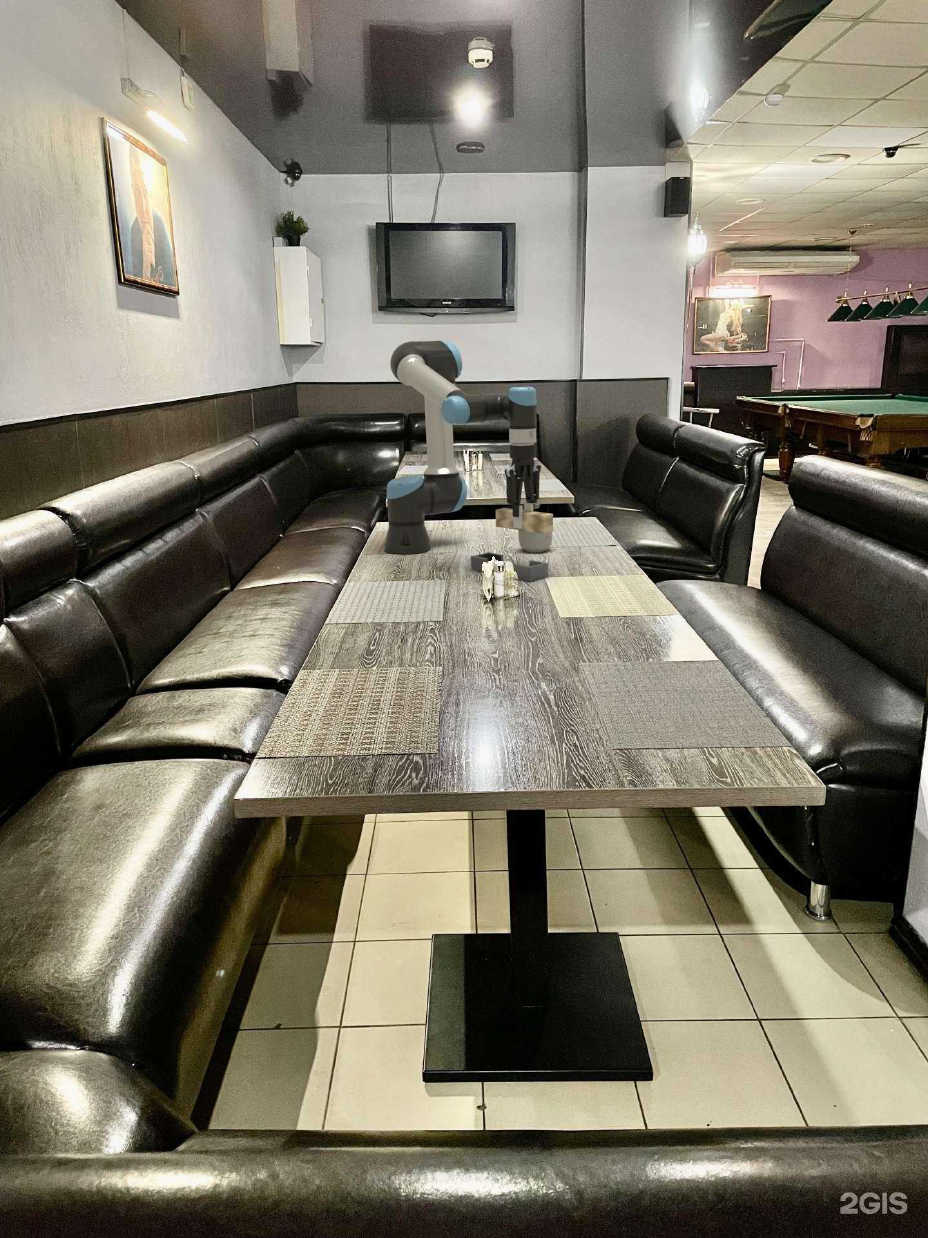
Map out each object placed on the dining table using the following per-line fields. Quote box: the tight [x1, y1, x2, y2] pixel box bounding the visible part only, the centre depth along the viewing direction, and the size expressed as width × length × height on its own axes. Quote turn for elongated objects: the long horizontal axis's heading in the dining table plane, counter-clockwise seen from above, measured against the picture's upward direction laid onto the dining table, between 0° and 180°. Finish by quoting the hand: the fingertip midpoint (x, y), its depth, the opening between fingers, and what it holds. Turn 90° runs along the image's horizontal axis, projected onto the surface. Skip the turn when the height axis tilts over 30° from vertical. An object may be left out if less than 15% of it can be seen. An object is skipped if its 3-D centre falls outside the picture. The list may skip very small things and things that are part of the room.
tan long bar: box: [495, 507, 554, 534], centre depth 250 cm, size 18×4×5 cm, turn 46°
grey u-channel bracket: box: [470, 551, 504, 573], centre depth 255 cm, size 6×8×4 cm
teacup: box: [517, 530, 553, 554], centre depth 279 cm, size 14×11×8 cm
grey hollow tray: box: [513, 559, 549, 583], centre depth 243 cm, size 6×8×4 cm
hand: (523, 526), depth 251 cm, fingers closed on tan long bar, 4 cm apart
